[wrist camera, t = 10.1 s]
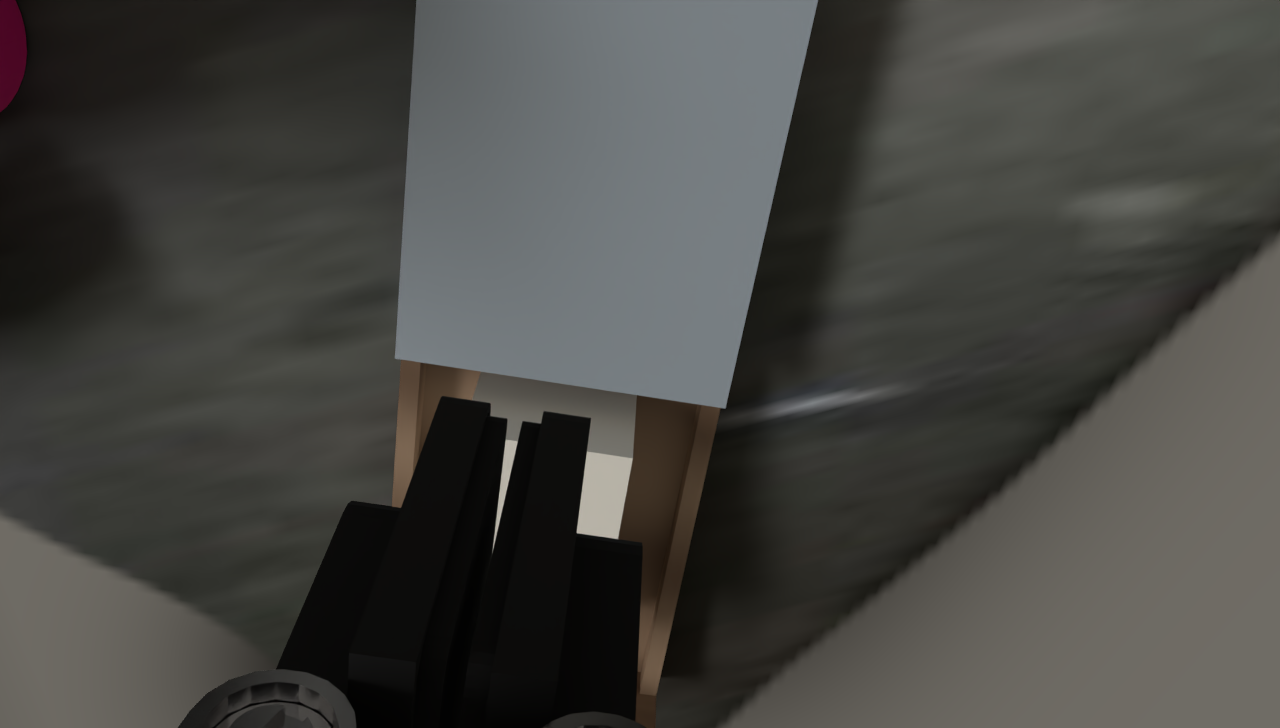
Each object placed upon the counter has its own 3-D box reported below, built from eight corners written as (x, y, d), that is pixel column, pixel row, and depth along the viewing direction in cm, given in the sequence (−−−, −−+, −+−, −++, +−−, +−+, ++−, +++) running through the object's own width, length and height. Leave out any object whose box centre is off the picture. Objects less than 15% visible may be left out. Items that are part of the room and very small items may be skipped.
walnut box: (412, 321, 36) (383, 383, 32) (722, 368, 36) (727, 434, 33) (390, 641, 42) (364, 722, 39) (654, 678, 43) (652, 761, 39)
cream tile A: (482, 366, 36) (461, 433, 32) (637, 389, 36) (632, 458, 33) (469, 493, 38) (448, 567, 35) (614, 514, 39) (608, 590, 35)
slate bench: (463, -439, 26) (443, -457, 24) (883, -362, 27) (902, -371, 24) (412, 321, 36) (395, 358, 33) (722, 368, 36) (725, 408, 34)
